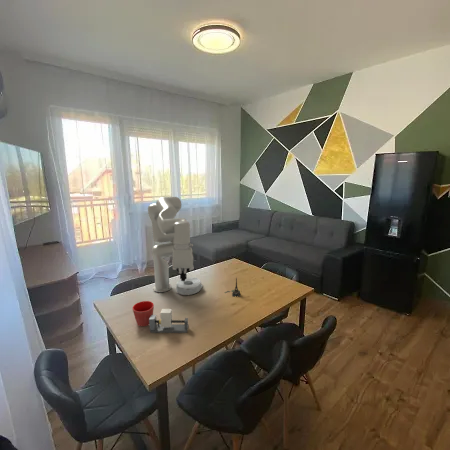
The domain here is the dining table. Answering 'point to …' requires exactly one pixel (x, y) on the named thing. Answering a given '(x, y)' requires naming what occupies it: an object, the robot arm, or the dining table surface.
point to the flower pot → (143, 312)
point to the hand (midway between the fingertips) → (183, 280)
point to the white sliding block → (166, 317)
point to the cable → (188, 286)
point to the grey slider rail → (173, 329)
